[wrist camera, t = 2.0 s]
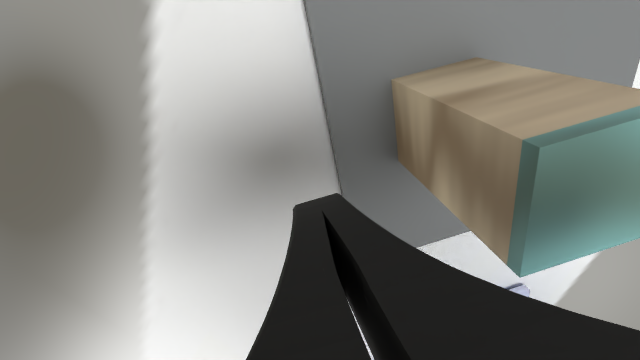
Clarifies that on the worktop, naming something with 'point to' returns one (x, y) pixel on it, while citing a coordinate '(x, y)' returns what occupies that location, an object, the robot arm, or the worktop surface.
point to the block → (525, 157)
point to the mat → (435, 51)
